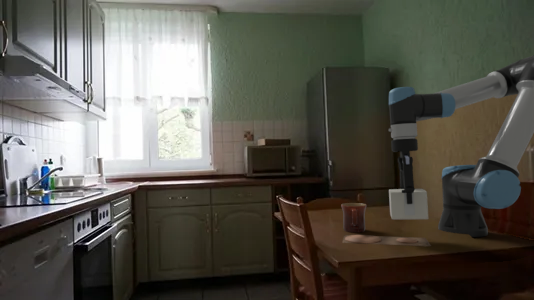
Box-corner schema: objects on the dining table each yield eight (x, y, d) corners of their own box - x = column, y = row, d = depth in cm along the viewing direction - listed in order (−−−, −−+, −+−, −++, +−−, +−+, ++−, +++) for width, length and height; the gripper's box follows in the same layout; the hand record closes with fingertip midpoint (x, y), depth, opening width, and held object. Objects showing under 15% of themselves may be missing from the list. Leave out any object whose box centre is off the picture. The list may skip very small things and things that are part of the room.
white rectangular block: (423, 214, 116) (422, 188, 116) (428, 219, 107) (426, 191, 107) (390, 214, 118) (388, 189, 118) (391, 219, 110) (390, 192, 110)
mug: (341, 231, 135) (341, 203, 136) (366, 231, 134) (365, 203, 134) (341, 238, 124) (340, 207, 124) (368, 238, 122) (367, 207, 122)
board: (425, 241, 116) (425, 236, 116) (431, 250, 105) (431, 245, 105) (344, 238, 123) (344, 234, 123) (342, 246, 112) (342, 241, 112)
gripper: (389, 140, 124) (392, 207, 124) (393, 138, 103) (397, 218, 103) (412, 139, 123) (416, 207, 122) (422, 136, 102) (426, 218, 101)
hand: (408, 212), depth 113 cm, fingers closed on white rectangular block, 9 cm apart
